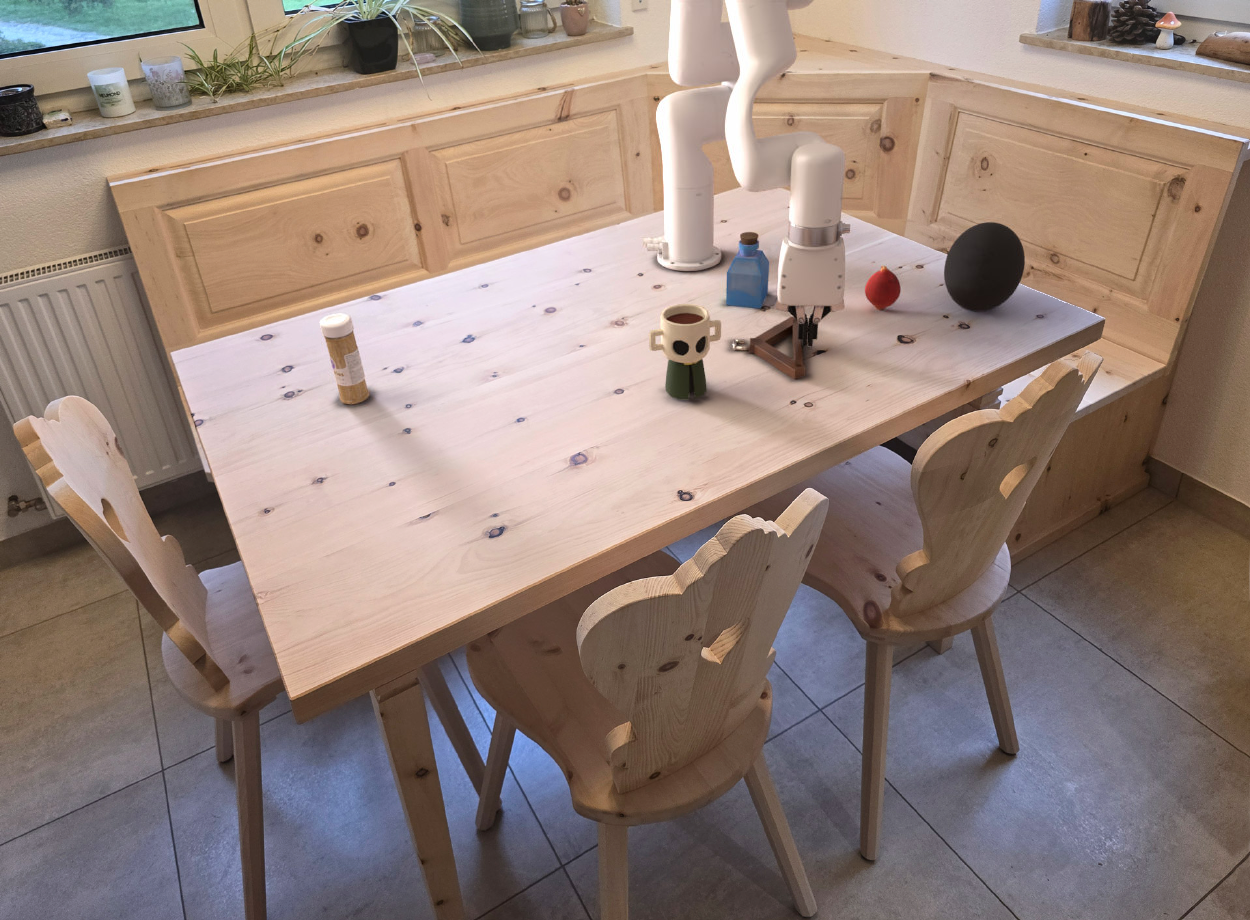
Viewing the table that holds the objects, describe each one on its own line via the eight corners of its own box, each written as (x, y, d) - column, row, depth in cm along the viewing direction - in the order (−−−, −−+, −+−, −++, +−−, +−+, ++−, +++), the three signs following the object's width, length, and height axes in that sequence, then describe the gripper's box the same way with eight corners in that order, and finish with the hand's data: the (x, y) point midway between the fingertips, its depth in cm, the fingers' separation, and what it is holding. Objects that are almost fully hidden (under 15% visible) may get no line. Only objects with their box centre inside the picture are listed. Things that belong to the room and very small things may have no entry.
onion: (894, 302, 156) (900, 259, 152) (899, 316, 152) (906, 272, 147) (861, 302, 157) (865, 259, 152) (865, 316, 152) (870, 272, 148)
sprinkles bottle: (334, 399, 138) (312, 321, 130) (358, 387, 141) (338, 309, 133) (352, 408, 136) (331, 329, 128) (376, 396, 138) (357, 317, 131)
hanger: (731, 378, 138) (731, 369, 137) (734, 324, 153) (734, 315, 152) (805, 379, 136) (805, 370, 135) (800, 324, 151) (801, 316, 150)
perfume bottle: (767, 294, 162) (770, 230, 155) (760, 308, 157) (763, 243, 150) (734, 290, 163) (735, 227, 157) (726, 305, 159) (727, 240, 152)
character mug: (657, 410, 131) (654, 330, 124) (645, 386, 137) (641, 309, 129) (728, 397, 133) (729, 318, 125) (712, 375, 139) (713, 298, 131)
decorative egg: (969, 287, 160) (984, 205, 151) (1029, 310, 151) (1049, 225, 143) (922, 306, 154) (935, 222, 146) (982, 331, 146) (1000, 244, 137)
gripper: (863, 223, 135) (853, 333, 145) (763, 223, 137) (760, 332, 147) (867, 240, 128) (856, 354, 139) (762, 241, 131) (759, 353, 141)
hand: (807, 342), depth 143 cm, fingers closed
